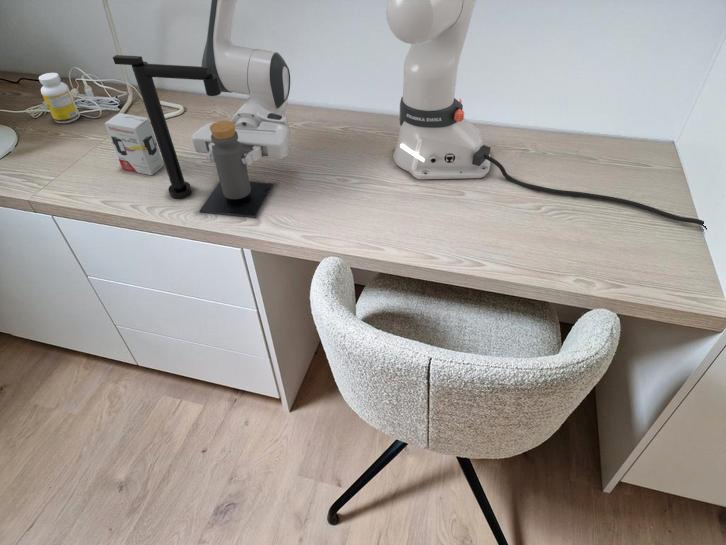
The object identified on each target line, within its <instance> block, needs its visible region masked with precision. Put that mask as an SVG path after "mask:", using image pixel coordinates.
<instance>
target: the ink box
mask: <svg viewBox="0 0 726 545" xmlns="http://www.w3.org/2000/svg"><path fill="white" fill-rule="evenodd" d="M104 125H105V128H106V130H107V134H108V136H109V139H110V141H111V143H112V146H113V149H114V152H115V154H116V157H117V159H118V161H119V165H120V166H121V169H122V170H124V171H128V172H133V173H139V174H143V175H148V176H153V175H154V174H156V173H157V172H158V171H160V170H161V169H162V168H163V167H165V164H164V161H163V158H162V155H161V152H160V149H159V146H158V143H157V140H156V137H155V134H154V131H153V128H152V125H151V122H150V119H149V118H148V117H144V116H138V115H134V114H128V113H123V112H119V113H117V114H115V115H114V116H112V117H111V118H109V119H108V120H106V121H104Z"/></svg>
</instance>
